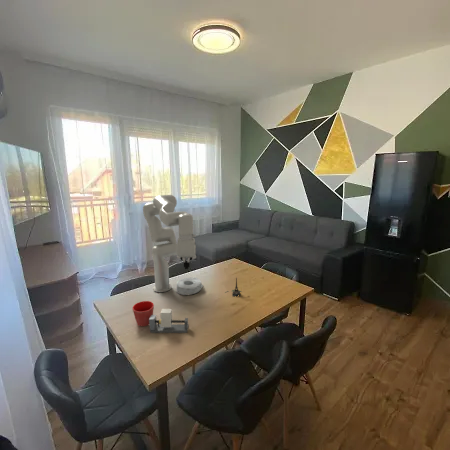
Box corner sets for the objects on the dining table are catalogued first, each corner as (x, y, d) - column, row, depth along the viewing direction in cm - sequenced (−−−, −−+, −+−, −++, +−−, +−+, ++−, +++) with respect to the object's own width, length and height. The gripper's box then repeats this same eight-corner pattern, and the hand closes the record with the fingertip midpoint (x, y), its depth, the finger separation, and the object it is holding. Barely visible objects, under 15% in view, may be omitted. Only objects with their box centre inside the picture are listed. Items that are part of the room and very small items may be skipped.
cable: (204, 284, 177) (203, 277, 176) (199, 296, 160) (198, 288, 159) (180, 283, 179) (180, 276, 177) (172, 295, 162) (172, 286, 160)
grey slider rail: (149, 332, 123) (148, 320, 122) (152, 326, 129) (151, 313, 127) (187, 332, 124) (186, 320, 122) (188, 326, 129) (188, 314, 128)
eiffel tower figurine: (250, 297, 160) (250, 278, 157) (239, 302, 154) (239, 282, 151) (235, 288, 172) (235, 271, 169) (223, 293, 165) (223, 274, 162)
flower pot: (137, 331, 125) (136, 314, 123) (131, 320, 133) (130, 304, 131) (157, 323, 131) (156, 307, 129) (150, 314, 139) (149, 298, 137)
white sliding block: (161, 326, 124) (160, 312, 122) (162, 322, 127) (162, 308, 126) (170, 326, 124) (170, 312, 122) (172, 322, 127) (171, 308, 126)
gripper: (200, 235, 137) (200, 266, 141) (173, 234, 137) (174, 265, 141) (199, 238, 129) (199, 271, 134) (170, 238, 130) (171, 270, 134)
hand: (186, 268), depth 137 cm, fingers closed
